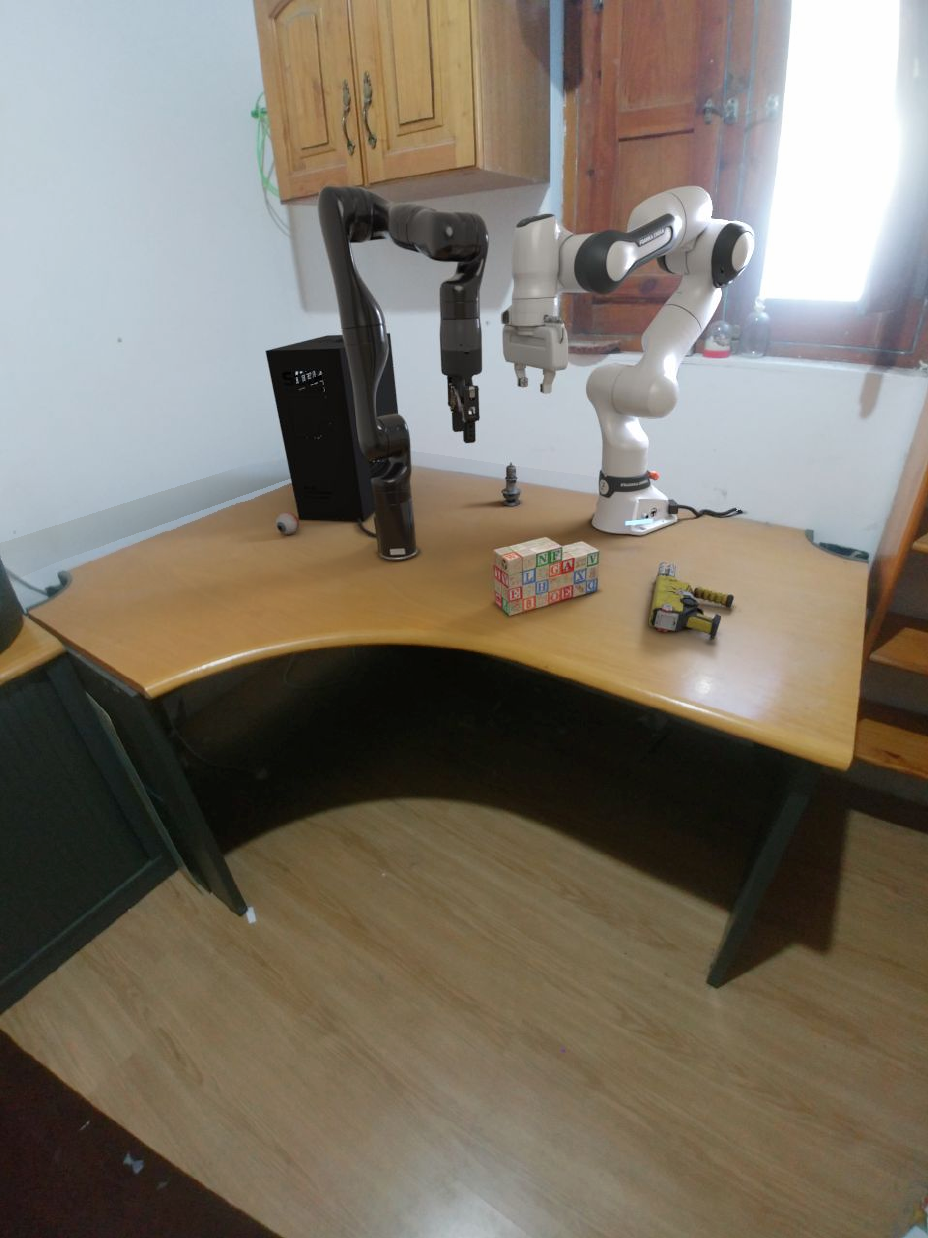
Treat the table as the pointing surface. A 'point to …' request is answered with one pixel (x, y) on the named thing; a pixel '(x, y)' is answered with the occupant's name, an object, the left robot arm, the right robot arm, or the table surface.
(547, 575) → the stack of blocks
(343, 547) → the table surface
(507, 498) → the grey chess piece
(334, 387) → the black computer tower
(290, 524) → the eyeball
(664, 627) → the toy gun
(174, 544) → the table surface
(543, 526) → the table surface
